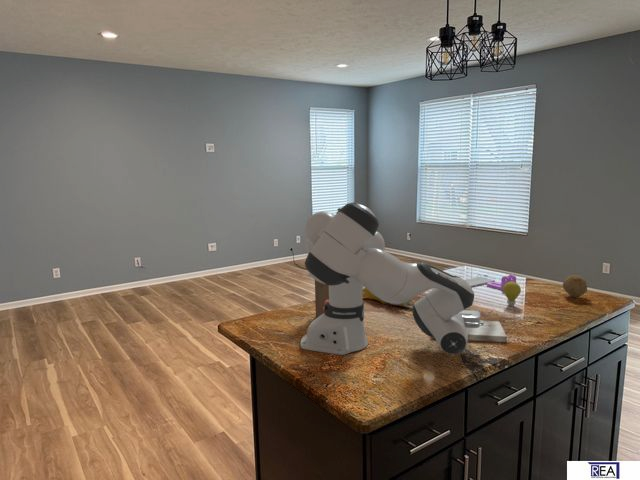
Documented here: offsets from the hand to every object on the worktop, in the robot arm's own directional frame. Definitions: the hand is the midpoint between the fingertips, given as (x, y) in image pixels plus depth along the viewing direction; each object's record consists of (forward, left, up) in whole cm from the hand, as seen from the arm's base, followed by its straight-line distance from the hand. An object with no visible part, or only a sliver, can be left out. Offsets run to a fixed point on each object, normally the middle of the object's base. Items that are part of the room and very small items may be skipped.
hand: (446, 309), depth 152 cm
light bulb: (+28, +37, -10) cm, 48 cm away
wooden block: (-43, +15, -10) cm, 47 cm away
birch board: (+7, +4, -9) cm, 13 cm away
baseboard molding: (+12, +68, -10) cm, 70 cm away
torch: (-22, +35, -10) cm, 43 cm away
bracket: (+28, +64, -10) cm, 71 cm away
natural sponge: (+56, +52, -10) cm, 77 cm away
